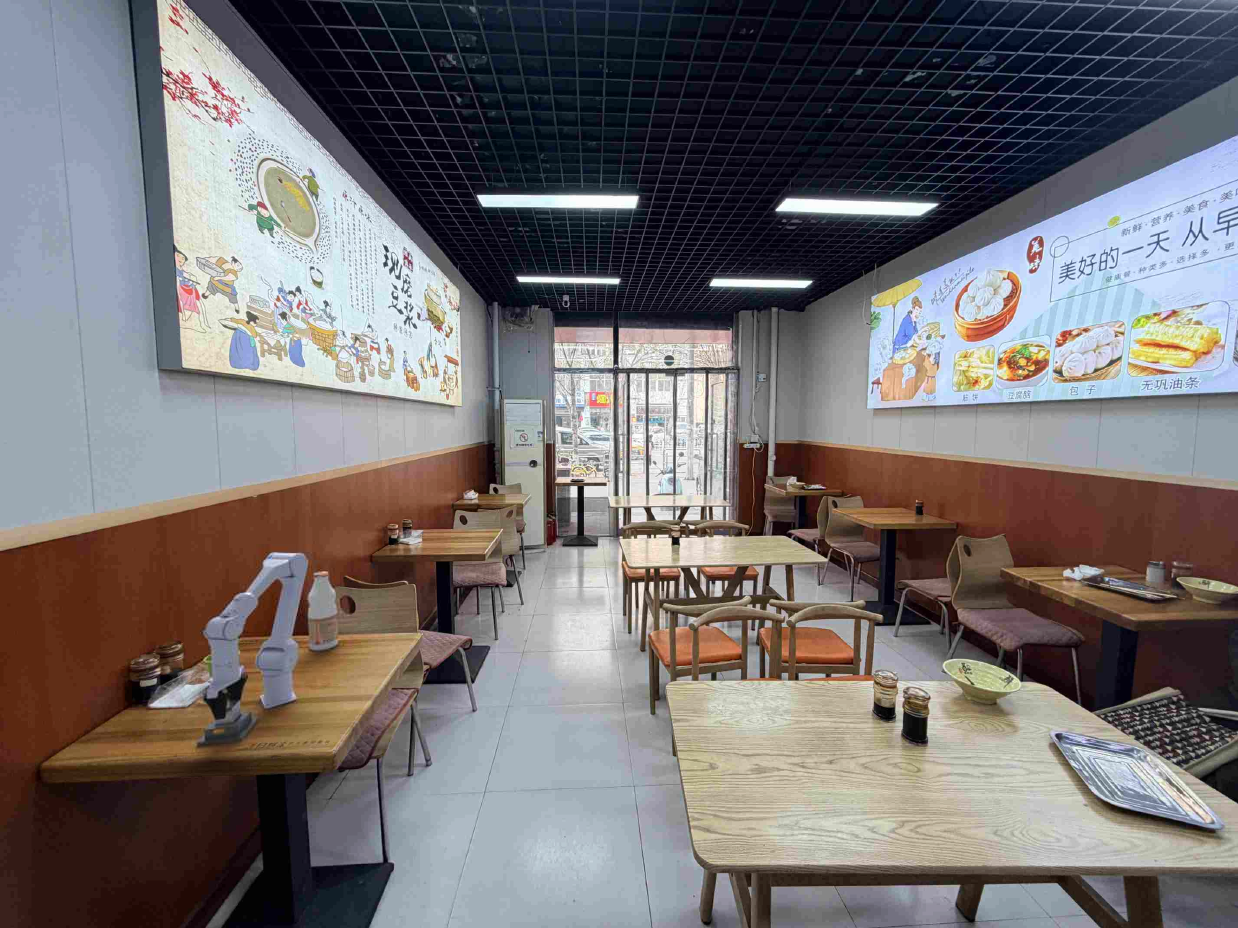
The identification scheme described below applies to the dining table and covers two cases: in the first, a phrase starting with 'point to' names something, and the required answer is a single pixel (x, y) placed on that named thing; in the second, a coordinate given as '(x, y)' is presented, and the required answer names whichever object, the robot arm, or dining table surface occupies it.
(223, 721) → the post
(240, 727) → the stand base
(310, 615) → the fruit juice
